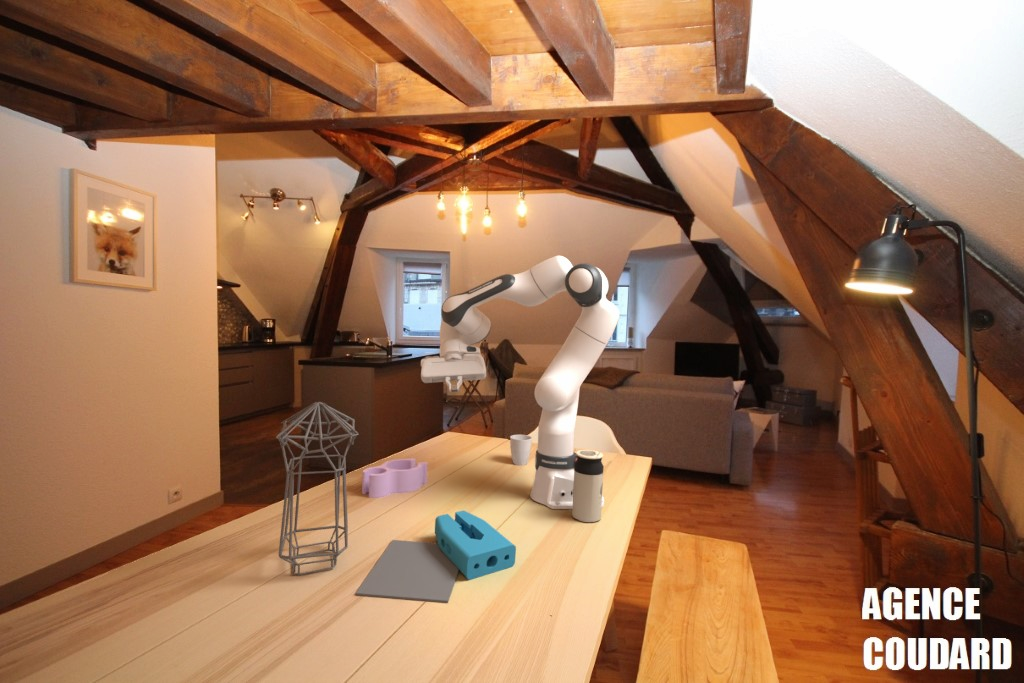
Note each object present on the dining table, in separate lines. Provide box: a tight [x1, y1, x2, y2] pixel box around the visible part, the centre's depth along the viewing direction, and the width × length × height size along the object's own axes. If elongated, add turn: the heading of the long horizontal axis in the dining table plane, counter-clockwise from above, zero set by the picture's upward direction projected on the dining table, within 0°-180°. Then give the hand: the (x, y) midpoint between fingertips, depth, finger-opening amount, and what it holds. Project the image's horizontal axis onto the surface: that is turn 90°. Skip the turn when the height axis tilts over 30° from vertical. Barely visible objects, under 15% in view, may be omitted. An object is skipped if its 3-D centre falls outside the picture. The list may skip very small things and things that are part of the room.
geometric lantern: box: [275, 401, 360, 577], centre depth 101 cm, size 16×16×35 cm
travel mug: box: [571, 449, 604, 523], centre depth 131 cm, size 8×8×18 cm
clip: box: [361, 457, 428, 499], centre depth 147 cm, size 20×12×7 cm, turn 138°
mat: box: [355, 539, 460, 604], centre depth 101 cm, size 18×22×1 cm
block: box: [434, 510, 517, 581], centre depth 108 cm, size 12×5×20 cm
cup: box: [509, 434, 533, 466], centre depth 177 cm, size 8×8×10 cm
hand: (454, 390), depth 143 cm, fingers closed
